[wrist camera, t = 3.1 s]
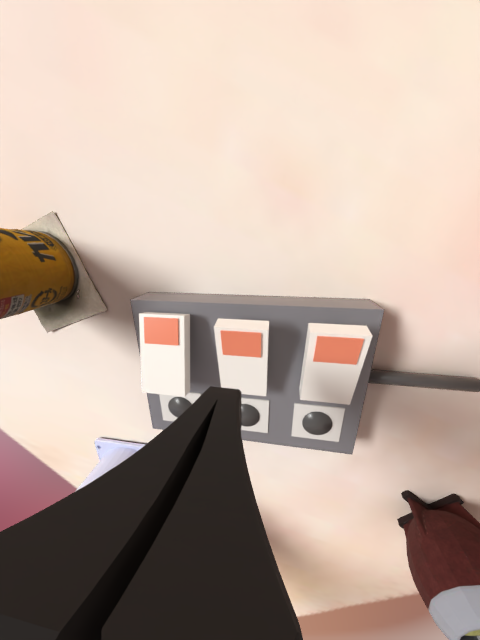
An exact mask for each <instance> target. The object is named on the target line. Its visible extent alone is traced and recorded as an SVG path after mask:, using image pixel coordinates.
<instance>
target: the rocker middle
mask: <svg viewBox="0 0 480 640" xmlns="http://www.w3.org/2000/svg"><path fill="white" fill-rule="evenodd" d="M214 333H215V341H216V349H217V358H218V366H219V374H220V383H221V387H222V388H232V389H239V390H240V391H241V394H247V395H257V396H266V393H267V373H268V343H269V321H261V320H241V319H221V318H218V319H217V321H216V324H215V326H214Z"/></svg>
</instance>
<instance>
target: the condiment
mask: <svg viewBox="0 0 480 640" xmlns="http://www.w3.org/2000/svg"><path fill="white" fill-rule="evenodd" d="M78 290H79V293H77V291H78ZM78 294H79V298H77V295H78ZM30 310H34V311H35V313H36V314H37V316H38V318H39V320H40V322H41V324H42V325H43V327H44V328H45V330H46V331H47V333H48V332H50V331H53V330H56V329H58V328H61V327H64V326H66V325H69V324H72V323H74V322H77V321H80V320H82V319H85V318H88V317H90V316H93V315H96V314H98V313H101V312H104V311H106V310H107V308H106V306H105V305H104V303H103V302H102V300H101V298H100V295H99V294H98V292H97V291H96V289H95V287H94V285H93V283H92V281H91V279H90V278H89V276H88V274H87V272H86V270H85V268H84V266H83V264H82V262H81V260H80V258H79V256H78V254H77V252H76V251H75V249H74V247H73V245H72V243H71V242H70V240H69V237H68V236H67V234H66V232H65V231H64V229H63V227H62V225H61V223H60V221H59V220H58V218H57V216H56V215H55V214H54V213H53V211H52V212H50V213H49V214H47V215H45V216H43V217H42V218H40V219H38V220H37V221H35V222H34V223H32V224H30V225H28V226H27V227H25V228H23V229H21V230H18V229H3V228H0V319H2V318H6V317H9V316H13V315H17V314H21V313H23V312H27V311H30Z"/></svg>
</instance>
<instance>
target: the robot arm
mask: <svg viewBox="0 0 480 640" xmlns="http://www.w3.org/2000/svg"><path fill="white" fill-rule="evenodd" d="M241 426H242V403H241V391H240V390H239V389H232V388H222V387H212V386H210V387H209V388H208V389H207V390H206V391H205V392H204V393H203V394H202V395H201V396H200V397H199V398H198V399H197V400H196V401H195V402H194V403H193V404H192V405H191V406H190V407H189V408H188V409H187V410H186V411H184V412H183V413H182V414H181V415H180V416H179V417H178V418H177V419H176V420H175V421H174V422H173V423H171V424H170V425H169V426H168V427H167V428H166V429H164V430H163V431H162V432H161V433H160V434H159V435H157V436H156V437H155V438H154V439H153V440H151V441H150V442H149V443H147V444H139V443H132V442H125V441H118V440H111V439H104V438H97V439H96V440H95V446H96V450H97V453H98V456H99V460H100V461H99V462H98V464H97V465H96V466H95V467H94V469H93V470H92V471H91V472H90V474H89V475H88V476H87V477H86V479H85V480H84V481H83V482H82V484H81V485H80V486H79V487H78V489H77V490H76V491H75V492H74V493H72V494H71V495H69V496H68V497H65V498H64V499H62V500H60V501H58V502H56V503H55V504H53V505H51V506H49V507H47V508H46V509H44V510H42V511H40V512H38V513H36V514H34V515H33V516H31V517H29V518H27V519H25V520H23V521H21V522H19V523H17V524H15V525H13V526H11V527H9V528H7V529H5V530H3V531H1V532H0V640H303V638H302V633H301V629H300V625H299V622H298V619H297V617H296V614H295V612H294V609H293V606H292V604H291V601H290V599H289V596H288V594H287V591H286V588H285V585H284V583H283V580H282V577H281V575H280V572H279V569H278V567H277V564H276V561H275V558H274V555H273V552H272V549H271V546H270V544H269V541H268V538H267V535H266V531H265V528H264V525H263V522H262V519H261V515H260V512H259V509H258V506H257V503H256V499H255V496H254V492H253V488H252V485H251V481H250V477H249V473H248V468H247V464H246V459H245V454H244V449H243V443H242V437H241Z"/></svg>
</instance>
